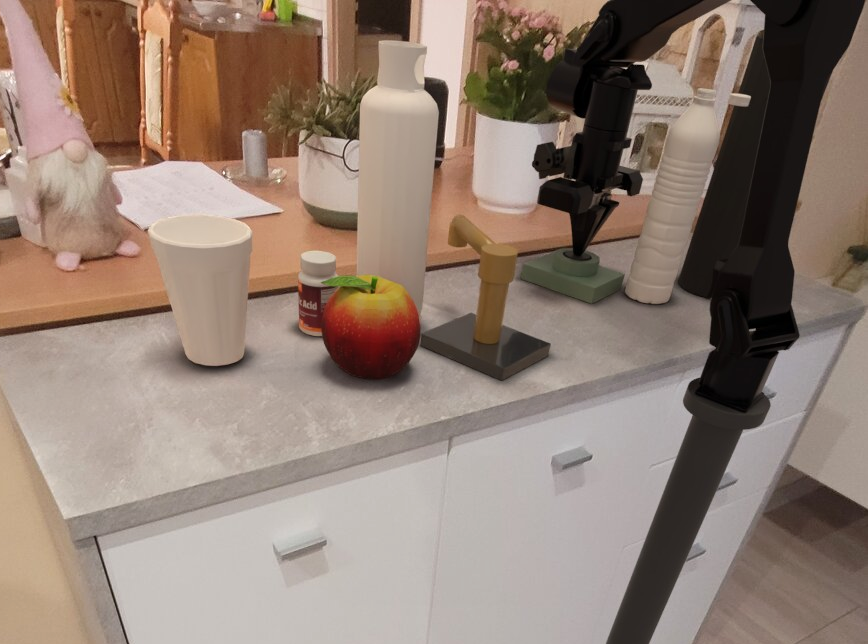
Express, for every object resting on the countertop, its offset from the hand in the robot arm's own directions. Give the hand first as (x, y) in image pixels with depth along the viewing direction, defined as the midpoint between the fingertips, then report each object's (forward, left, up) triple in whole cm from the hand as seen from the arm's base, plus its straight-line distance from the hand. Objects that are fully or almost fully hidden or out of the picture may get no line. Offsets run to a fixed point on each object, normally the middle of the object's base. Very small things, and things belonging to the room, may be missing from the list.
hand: (577, 254), depth 103 cm
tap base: (-5, +29, -4) cm, 30 cm away
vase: (-15, -17, -4) cm, 23 cm away
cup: (+14, +54, -4) cm, 56 cm away
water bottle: (-11, -5, -4) cm, 13 cm away
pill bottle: (+12, +40, -4) cm, 42 cm away
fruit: (+1, +43, -4) cm, 43 cm away
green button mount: (0, 0, -4) cm, 4 cm away
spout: (0, +26, +4) cm, 26 cm away
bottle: (+7, +33, -4) cm, 34 cm away
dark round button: (0, 0, -2) cm, 2 cm away
